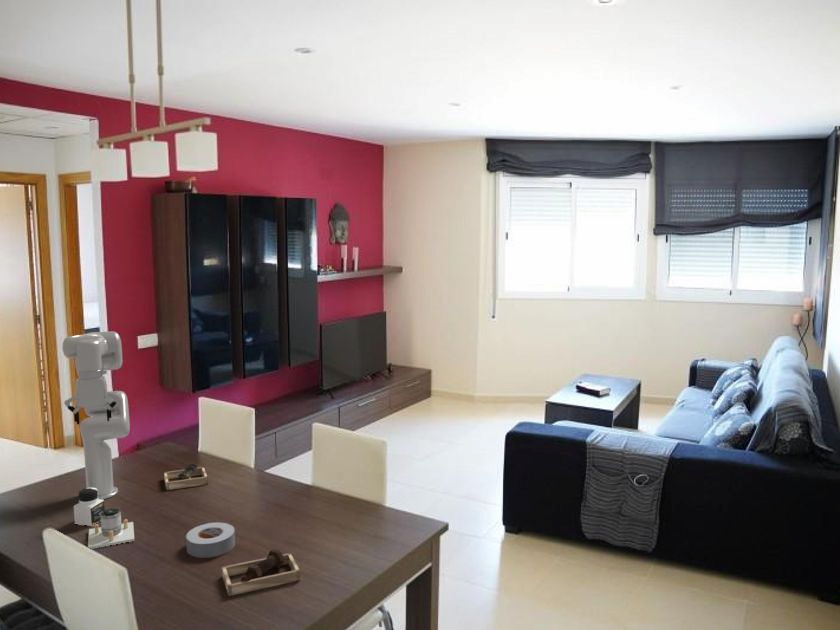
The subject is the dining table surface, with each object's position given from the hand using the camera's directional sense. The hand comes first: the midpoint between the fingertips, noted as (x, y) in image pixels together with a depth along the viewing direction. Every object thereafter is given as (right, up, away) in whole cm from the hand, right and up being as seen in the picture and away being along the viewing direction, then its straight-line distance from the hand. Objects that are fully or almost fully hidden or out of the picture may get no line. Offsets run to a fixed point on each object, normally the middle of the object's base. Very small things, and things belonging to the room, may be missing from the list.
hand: (93, 421), depth 233 cm
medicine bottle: (-2, -36, +3) cm, 37 cm away
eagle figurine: (+19, -32, +41) cm, 55 cm away
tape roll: (+47, -39, -15) cm, 63 cm away
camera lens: (+11, -37, -9) cm, 39 cm away
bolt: (+68, -41, -35) cm, 87 cm away
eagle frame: (+19, -31, +40) cm, 54 cm away
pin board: (+11, -38, -9) cm, 40 cm away
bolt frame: (+68, -42, -35) cm, 87 cm away
